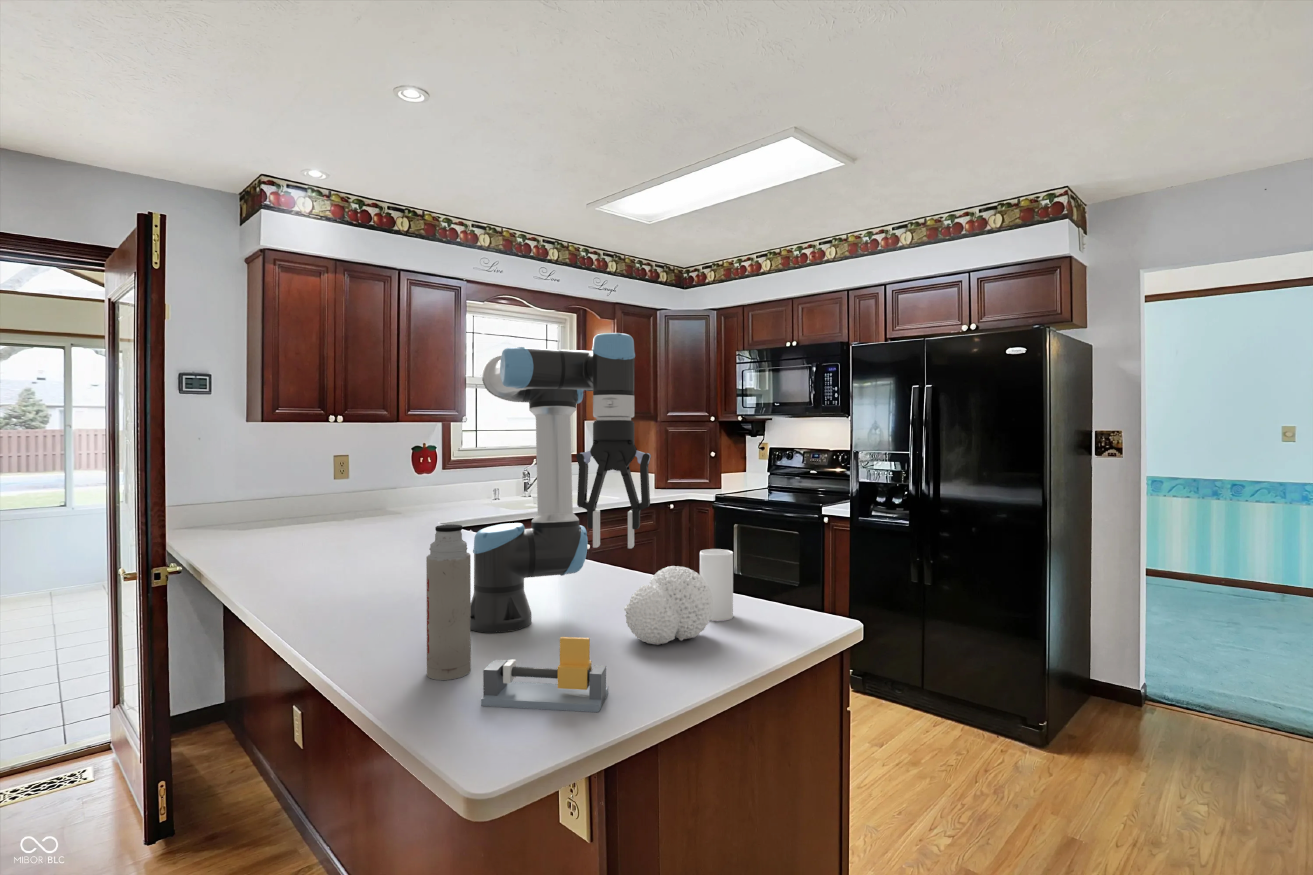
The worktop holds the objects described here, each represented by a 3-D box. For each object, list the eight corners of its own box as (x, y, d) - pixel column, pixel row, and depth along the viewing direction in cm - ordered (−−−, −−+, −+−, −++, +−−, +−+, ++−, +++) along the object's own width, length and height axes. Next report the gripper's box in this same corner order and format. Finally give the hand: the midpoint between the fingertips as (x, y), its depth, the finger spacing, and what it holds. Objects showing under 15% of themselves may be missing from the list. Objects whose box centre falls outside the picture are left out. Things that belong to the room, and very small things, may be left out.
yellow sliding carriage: (557, 688, 112) (557, 640, 112) (563, 680, 115) (563, 634, 115) (586, 689, 111) (586, 641, 111) (591, 681, 115) (591, 635, 115)
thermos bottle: (421, 680, 122) (421, 528, 122) (432, 665, 130) (432, 522, 130) (466, 679, 123) (465, 528, 123) (474, 664, 131) (474, 522, 131)
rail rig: (480, 705, 111) (479, 669, 111) (497, 687, 119) (497, 653, 119) (598, 712, 109) (598, 675, 109) (608, 692, 117) (608, 658, 117)
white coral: (682, 584, 162) (679, 539, 151) (732, 631, 151) (732, 587, 140) (615, 631, 153) (607, 587, 143) (663, 685, 142) (658, 641, 132)
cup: (731, 621, 160) (731, 555, 160) (697, 619, 162) (697, 554, 162) (734, 612, 168) (734, 549, 168) (701, 611, 170) (702, 548, 170)
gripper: (558, 419, 119) (558, 549, 119) (662, 418, 116) (662, 551, 117) (568, 419, 126) (568, 542, 126) (667, 419, 124) (667, 544, 124)
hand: (613, 546), depth 121 cm, fingers open, 6 cm apart
